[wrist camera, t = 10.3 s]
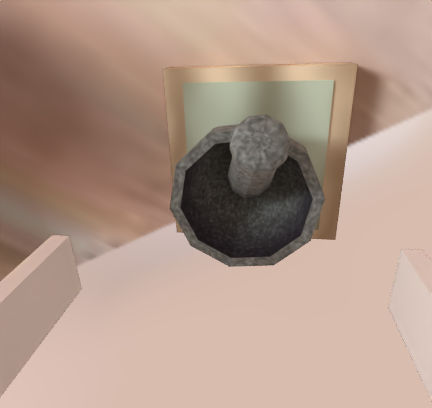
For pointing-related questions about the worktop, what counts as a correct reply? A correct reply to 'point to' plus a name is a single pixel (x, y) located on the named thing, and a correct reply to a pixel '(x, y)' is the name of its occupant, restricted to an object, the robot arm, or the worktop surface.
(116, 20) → the worktop surface
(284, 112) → the beige flat pad
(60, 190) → the worktop surface
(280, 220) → the mortar and pestle
